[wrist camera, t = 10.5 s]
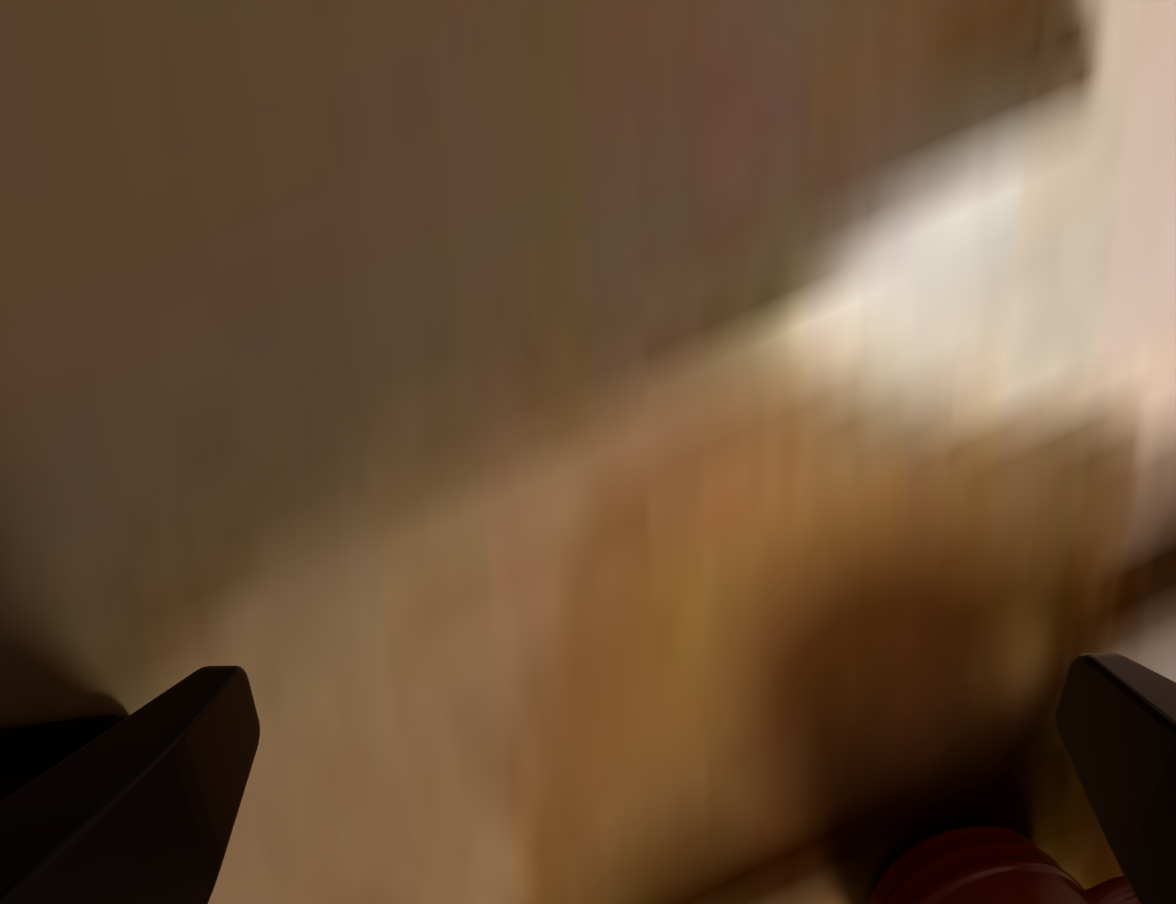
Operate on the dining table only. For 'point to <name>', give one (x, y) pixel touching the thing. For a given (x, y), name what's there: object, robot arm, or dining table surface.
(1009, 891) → the mug
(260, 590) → the dining table surface
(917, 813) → the dining table surface
